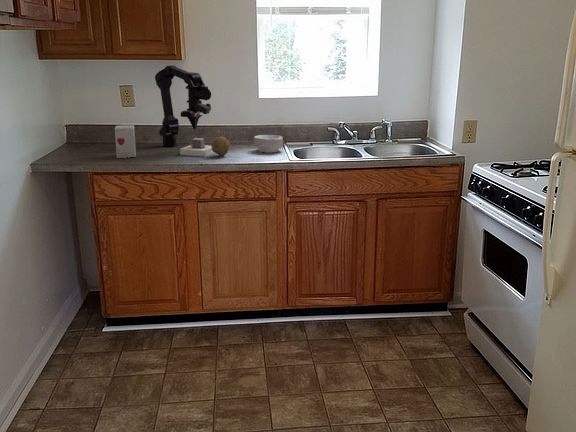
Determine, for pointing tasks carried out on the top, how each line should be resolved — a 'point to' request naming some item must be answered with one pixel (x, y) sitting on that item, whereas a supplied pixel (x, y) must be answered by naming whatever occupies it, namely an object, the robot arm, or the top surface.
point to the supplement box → (125, 141)
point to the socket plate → (196, 151)
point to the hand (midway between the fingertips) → (194, 128)
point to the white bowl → (268, 143)
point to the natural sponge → (220, 146)
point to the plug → (198, 143)
